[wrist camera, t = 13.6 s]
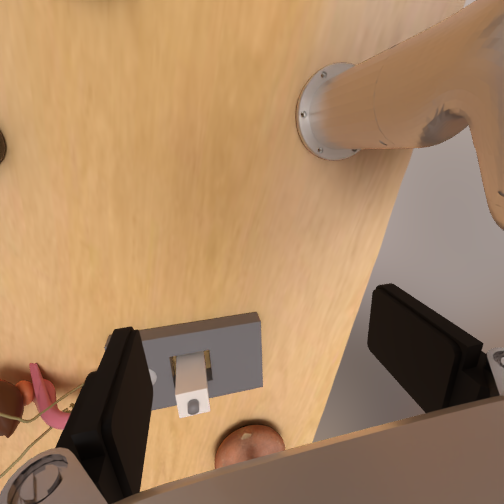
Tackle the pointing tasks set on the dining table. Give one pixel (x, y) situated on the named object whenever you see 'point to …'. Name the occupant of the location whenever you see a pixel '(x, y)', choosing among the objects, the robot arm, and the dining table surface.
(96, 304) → the dining table surface
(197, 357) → the white square peg
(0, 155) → the supplement bottle
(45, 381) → the anatomy model
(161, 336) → the block
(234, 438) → the ceramic jug
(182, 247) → the dining table surface
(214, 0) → the dining table surface
